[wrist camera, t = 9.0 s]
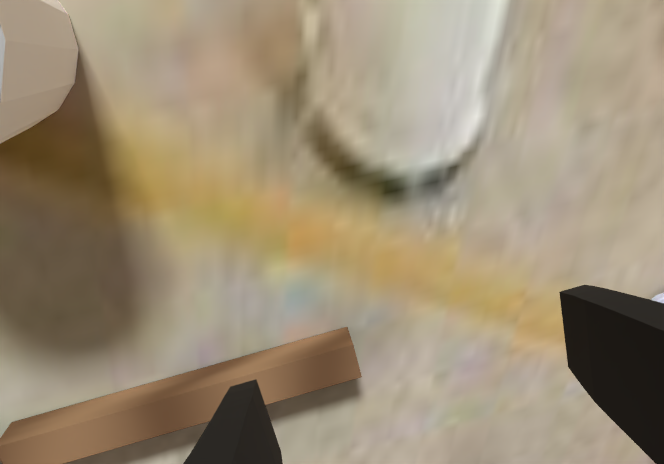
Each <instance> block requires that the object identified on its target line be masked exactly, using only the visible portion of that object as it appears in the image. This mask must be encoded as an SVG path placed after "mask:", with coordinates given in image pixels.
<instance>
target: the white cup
mask: <svg viewBox="0 0 664 464" xmlns="http://www.w3.org/2000/svg"><path fill="white" fill-rule="evenodd" d="M78 51H79V49H78V46H77V42H76V39H75V35H74V32H73V28H72V24H71V21H70V17H69V14H68V13H67V11H66V10H65V9H64V7H63V6H62V5H61V3H60V2H59V0H0V144H1V143H2V142H4V141H6V140H8V139H10V138H12V137H14V136H16V135H18V134H19V133H21V132H23V131H25V130H27V129H29V128H31V127H33V126H34V125H36V124H37V123H39V122H40V121H42V120H43V119H45V118H46V117H48V116H50V115H51V114H53V113H54V112H56V111H57V110H59V108H60V106H61V105H62V103H63V101H64V100H65V98H66V97H67V95H68V93H69V92H70V90H71V88H72V87H73V85H74V83H75V77H76V68H77V59H78Z"/></svg>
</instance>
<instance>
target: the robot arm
mask: <svg viewBox="0 0 664 464" xmlns="http://www.w3.org/2000/svg"><path fill="white" fill-rule="evenodd" d="M560 300H561V308H562V317H563V326H564V334H565V343H566V351H567V360H568V367H569V369H570V370H571V371H572V373H573V374H574V375H575V377H576V378H577V379H578V381H579V382H580V384H581V385H582V386H583V388H584V389H585V390H586V391H587V393H588V394H589V395H590V396H591V398H592V399H593V400H594V402H595V403H596V404H597V405H598V406H599V407H600V408H601V409H602V410H603V411H604V412H605V413H606V414H607V415H608V416H609V417H610V418H611V419H612V420H613V421H614V422H615V423H616V424H617V425H618V426H619V427H620V428H621V429H622V430H623V431H624V432H625V433H626V434H627V435H628V436H629V437H630V438H631V439H632V440H633V441H634V442H635V443H636V444H637V445H638V446H639V447H640V448H641V449H642V450H643V451H644V452H645V453H646V454H647V455H648V456H649V457H650V458H651V459H652V460H653V461H654V462H655V463H656V464H664V293H661V294H658V295H656V296H654V297H653V298H652V299H651V300H649V299H645V298H641V297H637V296H633V295H629V294H625V293H621V292H617V291H613V290H609V289H605V288H600V287H595V286H589V285H582V286H579V287H575V288H572V289H568V290H565V291H561V292H560ZM184 464H283V463H282V456H281V450H280V447H279V444H278V441H277V438H276V435H275V433H274V430H273V427H272V424H271V421H270V418H269V415H268V412H267V409H266V406H265V403H264V400H263V397H262V394H261V391H260V388H259V385H258V382H257V379H255V380H252V381H248V382H245V383H241V384H238V385H234V386H231V387H230V388H229V389H228V391H227V393H226V394H225V396H224V398H223V399H222V401H221V403H220V405H219V406H218V408H217V410H216V412H215V413H214V415H213V417H212V419H211V420H210V422H209V424H208V425H207V427H206V429H205V431H204V432H203V434H202V435H201V437H200V439H199V440H198V442H197V444H196V445H195V447H194V449H193V450H192V452H191V453H190V455H189V456H188V458H187V459H186V461H185V462H184Z"/></svg>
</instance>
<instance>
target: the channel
mask: <svg viewBox="0 0 664 464" xmlns="http://www.w3.org/2000/svg"><path fill="white" fill-rule="evenodd" d="M360 377H362V376H361V373H360V369H359V365H358V361H357V357H356V354H355V350H354V346H353V343H352V340H351V337H350V334H349V331H348V328H347V327H345V328H341V329H338V330H334V331H331V332H327V333H324V334H320V335H317V336H313V337H310V338H306V339H303V340H299V341H296V342H292V343H289V344H285V345H282V346H278V347H275V348H271V349H268V350H264V351H261V352H257V353H254V354H250V355H247V356H243V357H240V358H236V359H233V360H229V361H226V362H222V363H219V364H215V365H212V366H208V367H205V368H201V369H197V370H194V371H190V372H187V373H183V374H180V375H176V376H173V377H169V378H166V379H162V380H159V381H155V382H152V383H148V384H145V385H141V386H138V387H134V388H131V389H127V390H124V391H120V392H117V393H113V394H110V395H106V396H103V397H99V398H96V399H92V400H89V401H85V402H82V403H78V404H75V405H71V406H68V407H64V408H61V409H57V410H54V411H50V412H47V413H43V414H40V415H36V416H32V417H29V418H25V419H22V420H18V421H15V422H11V424H10V425H9V427H8V428H7V430H6V431H5V432H4V434H3V435H2V437H1V438H0V460H1V462H2V464H63V463H67V462H70V461H74V460H77V459H81V458H84V457H87V456H91V455H94V454H98V453H101V452H105V451H108V450H112V449H115V448H119V447H122V446H125V445H129V444H132V443H136V442H139V441H143V440H146V439H150V438H153V437H156V436H160V435H163V434H167V433H170V432H174V431H177V430H181V429H184V428H187V427H191V426H194V425H198V424H201V423H205V422H208V421H210V420H211V419H212V417H213V415H214V413H215V412H216V410H217V408H218V406H219V405H220V403H221V401H222V399H223V398H224V396H225V394H226V393H227V391H228V389H229V388H230V387H231V386H234V385H238V384H241V383H245V382H248V381H252V380H255V379H257V382H258V385H259V388H260V391H261V394H262V397H263V400H264V403H265V405H267V404H270V403H274V402H277V401H281V400H284V399H287V398H291V397H294V396H298V395H301V394H305V393H308V392H312V391H315V390H319V389H322V388H325V387H329V386H332V385H336V384H339V383H343V382H346V381H350V380H353V379H356V378H360Z"/></svg>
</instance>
